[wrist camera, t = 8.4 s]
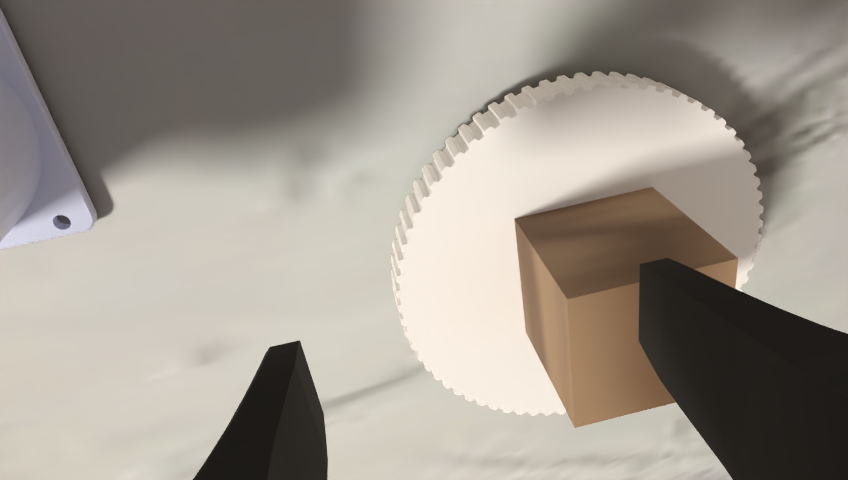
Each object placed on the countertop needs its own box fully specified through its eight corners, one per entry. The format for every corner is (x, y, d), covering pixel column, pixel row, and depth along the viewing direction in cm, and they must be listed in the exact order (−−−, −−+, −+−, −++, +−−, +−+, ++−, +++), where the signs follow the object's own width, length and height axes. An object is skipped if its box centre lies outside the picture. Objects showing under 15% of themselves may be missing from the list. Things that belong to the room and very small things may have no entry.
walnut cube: (525, 332, 24) (575, 427, 20) (514, 218, 22) (567, 299, 17) (650, 302, 24) (724, 389, 20) (652, 186, 22) (738, 258, 18)
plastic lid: (583, 411, 30) (605, 451, 28) (322, 309, 25) (325, 349, 23) (789, 172, 26) (835, 198, 24) (526, -16, 20) (553, -5, 18)
